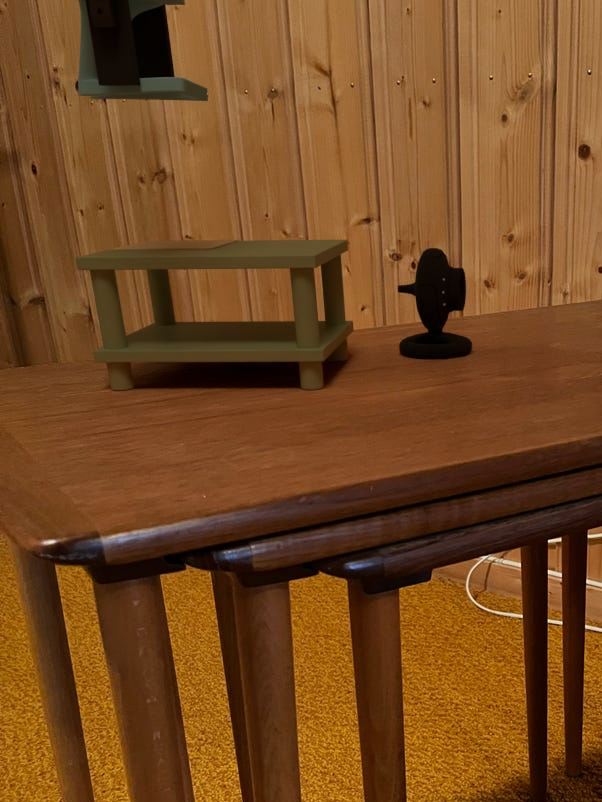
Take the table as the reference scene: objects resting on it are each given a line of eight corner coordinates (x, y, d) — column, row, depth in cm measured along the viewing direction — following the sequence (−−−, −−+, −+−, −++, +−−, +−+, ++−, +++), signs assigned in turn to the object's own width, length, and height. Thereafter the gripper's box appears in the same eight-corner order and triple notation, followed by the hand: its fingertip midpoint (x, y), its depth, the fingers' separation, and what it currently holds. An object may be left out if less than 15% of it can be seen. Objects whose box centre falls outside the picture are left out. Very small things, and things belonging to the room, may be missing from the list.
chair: (102, 102, 75) (73, -86, 70) (210, 101, 76) (188, -88, 71) (66, 93, 68) (31, -117, 63) (185, 92, 69) (159, -118, 64)
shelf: (99, 391, 85) (74, 256, 80) (161, 357, 99) (143, 240, 95) (326, 391, 84) (314, 253, 79) (355, 356, 99) (347, 238, 94)
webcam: (464, 360, 96) (462, 251, 91) (391, 358, 97) (385, 251, 93) (478, 346, 103) (477, 244, 98) (409, 345, 104) (405, 244, 100)
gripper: (68, -412, 53) (139, 78, 63) (188, -271, 70) (228, 94, 80) (-66, -406, 53) (26, 80, 63) (87, -267, 71) (140, 96, 81)
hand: (139, 87), depth 72 cm, fingers closed on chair, 7 cm apart
